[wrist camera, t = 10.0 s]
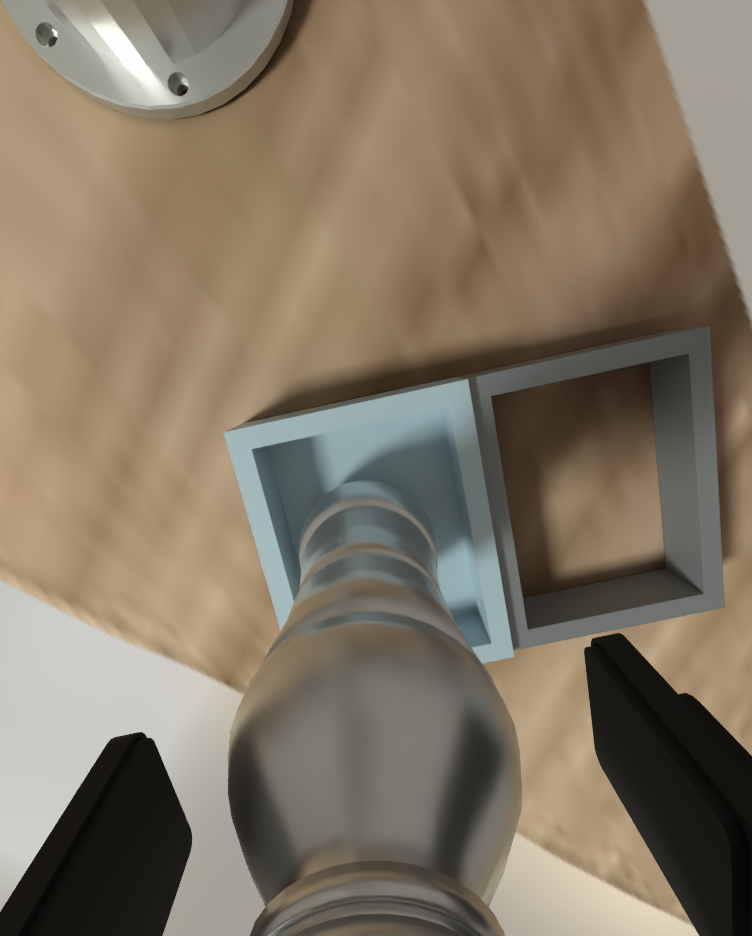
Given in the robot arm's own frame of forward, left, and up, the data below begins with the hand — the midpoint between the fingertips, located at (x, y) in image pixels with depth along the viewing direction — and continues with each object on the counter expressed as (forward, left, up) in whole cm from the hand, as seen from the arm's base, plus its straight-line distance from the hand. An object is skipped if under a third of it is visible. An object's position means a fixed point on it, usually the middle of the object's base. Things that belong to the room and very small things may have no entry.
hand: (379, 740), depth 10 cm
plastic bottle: (+1, 0, -15) cm, 15 cm away
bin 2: (+1, +11, -16) cm, 19 cm away
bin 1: (+1, 0, -16) cm, 16 cm away
